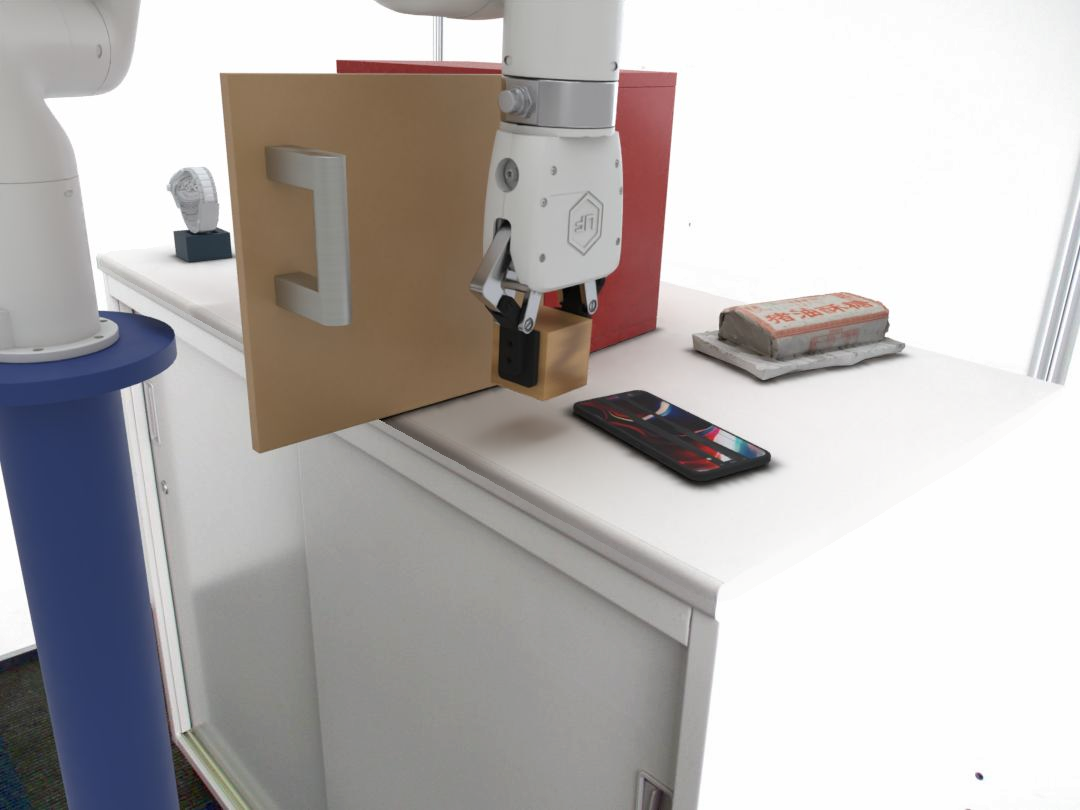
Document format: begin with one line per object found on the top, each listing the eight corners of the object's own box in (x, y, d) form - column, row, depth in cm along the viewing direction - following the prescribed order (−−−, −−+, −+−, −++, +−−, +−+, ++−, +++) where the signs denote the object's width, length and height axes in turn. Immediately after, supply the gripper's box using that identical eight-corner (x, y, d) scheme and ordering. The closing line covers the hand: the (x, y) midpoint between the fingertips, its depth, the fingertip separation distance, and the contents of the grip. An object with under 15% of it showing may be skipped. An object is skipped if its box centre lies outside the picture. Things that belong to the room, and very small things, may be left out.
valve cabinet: (542, 370, 80) (553, 72, 72) (346, 310, 96) (335, 59, 87) (656, 328, 93) (677, 72, 85) (467, 282, 109) (468, 61, 100)
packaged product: (832, 282, 94) (913, 306, 86) (825, 327, 96) (904, 355, 88) (693, 300, 85) (769, 329, 77) (688, 350, 87) (762, 383, 79)
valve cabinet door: (596, 393, 75) (615, 79, 66) (310, 487, 58) (284, 79, 49) (533, 369, 80) (542, 74, 71) (252, 449, 63) (219, 72, 54)
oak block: (543, 402, 64) (548, 333, 62) (490, 382, 67) (493, 316, 65) (587, 385, 68) (592, 319, 66) (535, 367, 70) (538, 303, 69)
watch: (213, 248, 121) (204, 162, 117) (237, 259, 116) (229, 169, 112) (169, 253, 118) (159, 164, 114) (193, 265, 112) (183, 172, 108)
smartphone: (641, 387, 75) (777, 454, 63) (640, 395, 75) (776, 463, 63) (567, 402, 71) (697, 476, 60) (567, 411, 72) (696, 486, 60)
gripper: (515, 117, 51) (503, 418, 58) (677, 110, 64) (652, 359, 71) (421, 106, 56) (420, 387, 63) (591, 101, 68) (575, 336, 75)
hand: (543, 370), depth 67 cm, fingers closed on oak block, 5 cm apart
